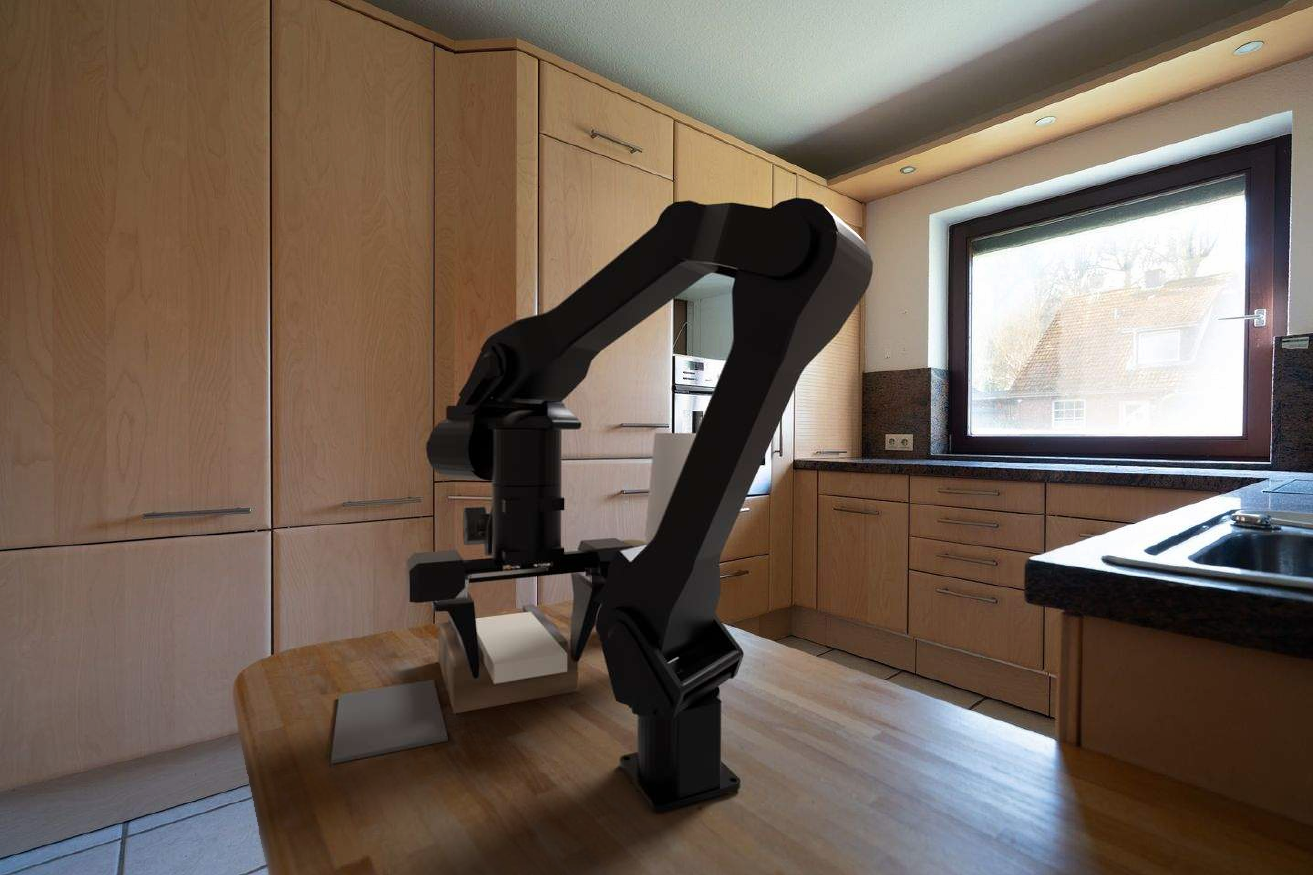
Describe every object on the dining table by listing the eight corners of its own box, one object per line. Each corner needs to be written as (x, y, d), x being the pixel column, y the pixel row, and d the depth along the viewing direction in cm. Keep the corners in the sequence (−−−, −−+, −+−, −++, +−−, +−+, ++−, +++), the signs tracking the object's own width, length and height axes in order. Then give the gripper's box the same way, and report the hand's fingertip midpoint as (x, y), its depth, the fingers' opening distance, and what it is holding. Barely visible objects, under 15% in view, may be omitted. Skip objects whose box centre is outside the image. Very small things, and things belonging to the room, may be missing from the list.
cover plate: (567, 671, 51) (567, 653, 51) (494, 683, 48) (494, 664, 48) (530, 626, 63) (530, 611, 63) (470, 634, 60) (470, 619, 60)
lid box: (577, 690, 56) (578, 639, 56) (453, 713, 52) (454, 657, 52) (542, 645, 68) (542, 603, 68) (438, 661, 63) (438, 615, 63)
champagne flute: (649, 672, 61) (650, 433, 61) (640, 648, 67) (641, 432, 67) (714, 668, 62) (715, 433, 62) (699, 645, 68) (700, 433, 68)
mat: (447, 740, 47) (447, 736, 47) (331, 763, 44) (331, 759, 44) (433, 682, 58) (433, 679, 58) (339, 697, 55) (339, 694, 55)
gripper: (599, 474, 62) (598, 626, 63) (403, 480, 54) (402, 653, 55) (643, 483, 52) (642, 663, 52) (409, 491, 44) (409, 703, 45)
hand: (526, 668), depth 51 cm, fingers open, 8 cm apart
